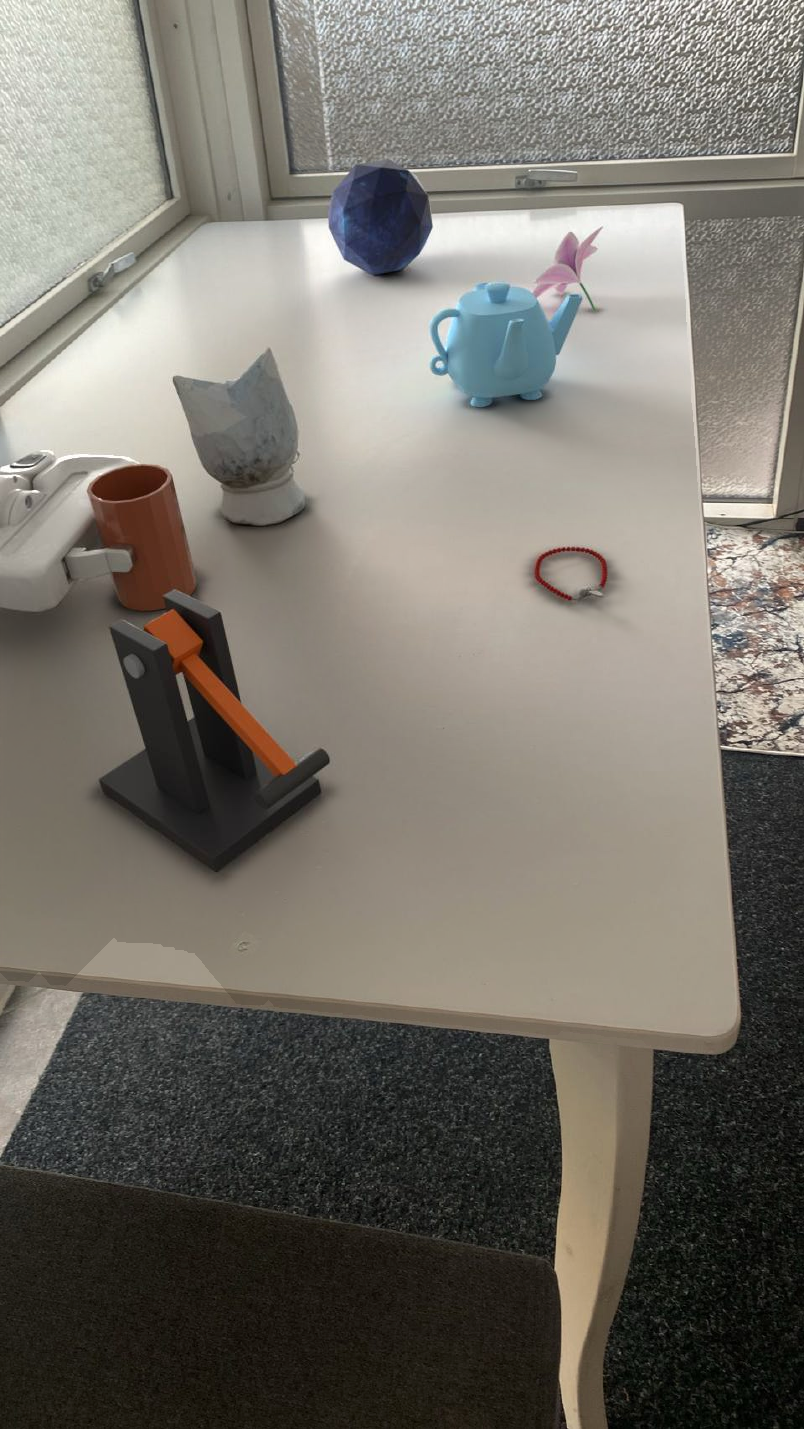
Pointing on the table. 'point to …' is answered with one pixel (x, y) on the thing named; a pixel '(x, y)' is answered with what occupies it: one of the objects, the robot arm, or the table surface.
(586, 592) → the red beaded bracelet
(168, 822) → the pivoting lever stand
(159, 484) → the cup
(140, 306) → the table surface
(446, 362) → the teapot
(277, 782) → the switch lever
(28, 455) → the robot arm
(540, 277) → the lily
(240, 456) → the figurine
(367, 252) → the decorative orb
